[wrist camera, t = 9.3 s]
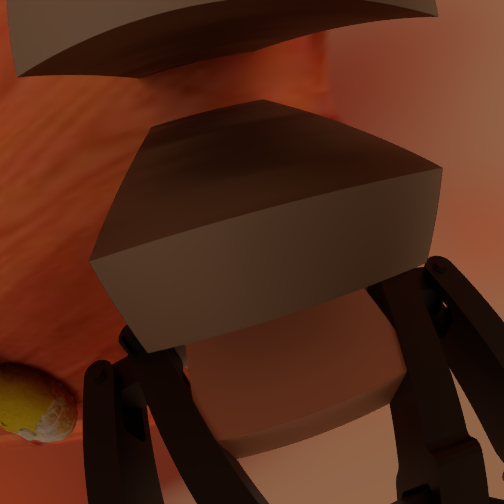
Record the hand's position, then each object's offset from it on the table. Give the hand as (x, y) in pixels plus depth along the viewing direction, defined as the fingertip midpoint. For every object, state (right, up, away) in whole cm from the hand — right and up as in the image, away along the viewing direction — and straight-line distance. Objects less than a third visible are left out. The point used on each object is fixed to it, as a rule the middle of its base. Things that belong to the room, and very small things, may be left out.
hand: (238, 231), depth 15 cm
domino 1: (-2, +9, -4) cm, 10 cm away
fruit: (-23, -16, +7) cm, 29 cm away
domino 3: (0, +1, +1) cm, 1 cm away
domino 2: (-1, +5, -1) cm, 6 cm away
